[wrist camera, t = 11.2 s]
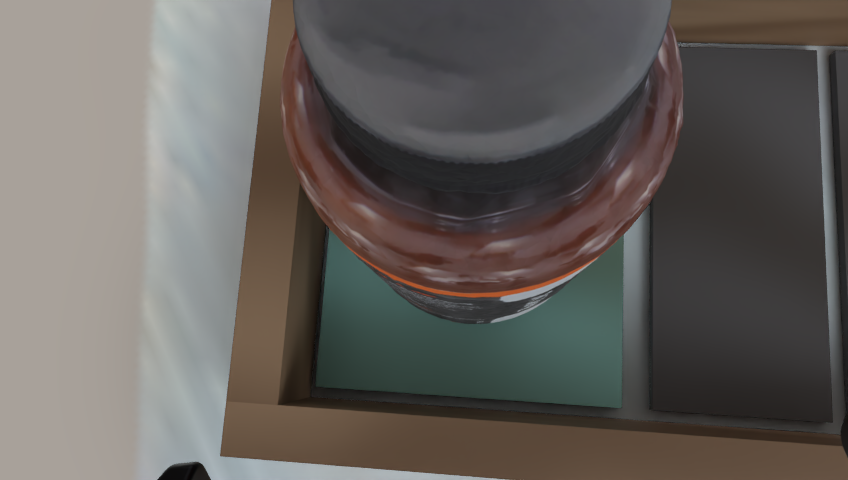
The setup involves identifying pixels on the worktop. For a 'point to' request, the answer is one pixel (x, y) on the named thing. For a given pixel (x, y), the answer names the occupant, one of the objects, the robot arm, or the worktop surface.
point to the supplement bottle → (481, 138)
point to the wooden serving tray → (579, 298)
